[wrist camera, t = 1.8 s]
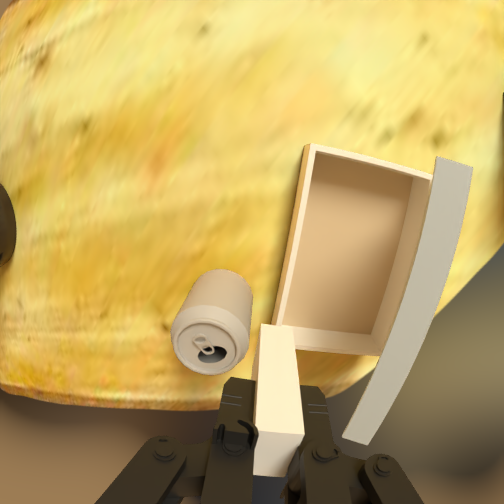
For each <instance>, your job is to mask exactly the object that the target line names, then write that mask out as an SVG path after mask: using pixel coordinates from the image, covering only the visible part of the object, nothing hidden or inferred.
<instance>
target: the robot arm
mask: <svg viewBox="0 0 504 504" xmlns="http://www.w3.org/2000/svg"><path fill="white" fill-rule="evenodd" d="M15 240H16V224H15V216H14V211H13V207H12V204H11V201H10V198H9V196H8V194H7V192H6V190H5V189H4V187H3V186H2V185H1V184H0V266H2V265H4V264H5V263H7V262H8V260H9V259H10V257H11V255H12V253H13V250H14V246H15ZM287 471H288V482H287V483H286V485H285V487H284V489H283V491H282V493H281V495H280V498H283V497H284V495H285V504H424V503H423V501H422V500H421V498H420V496H419V495H418V494H417V492H416V490H415V489H414V487H413V485H412V484H411V482H410V481H409V479H408V478H407V476H406V474H405V473H404V471H403V470H402V468H401V467H400V465H399V464H398V462H397V461H396V460H395V459H394V458H392V457H390V456H389V455H385V454H375V455H373V456H371V457H369V458H368V459H367V461H366V460H361V459H357V458H353V457H350V456H347V455H345V454H343V453H342V452H341V450H340V448H339V447H338V446H337V445H336V444H334V441H333V437H332V432H331V426H330V421H329V416H328V411H327V407H326V401H325V396H324V394H323V393H322V392H321V390H320V389H319V388H318V387H315V386H303V385H299V377H298V369H297V360H296V352H295V344H294V336H293V328H289V327H282V326H275V325H268V324H262V323H261V327H260V332H259V337H258V342H257V347H256V352H255V357H254V362H253V367H252V377H251V380H247V379H241V378H234V377H230V379H229V380H228V381H227V382H226V383H225V384H224V388H223V393H222V398H221V403H220V408H219V413H218V418H217V423H216V424H215V426H214V429H213V435H212V437H211V438H210V439H208V440H207V441H205V442H202V443H200V444H189V445H182V443H181V442H179V441H178V440H176V439H175V438H172V437H168V436H157V437H154V438H151V439H149V440H148V441H147V442H146V443H145V444H144V445H143V446H142V447H141V449H140V450H139V451H138V452H137V454H136V455H135V456H134V457H133V458H132V460H131V461H130V462H129V463H128V464H127V466H126V467H125V468H124V469H123V471H122V472H121V473H120V474H119V475H118V477H117V478H116V479H115V480H114V481H113V482H112V484H111V485H110V486H109V487H108V489H107V490H106V491H105V492H104V493H103V494H102V496H101V497H100V498H99V499H98V500H97V501H96V503H95V504H180V503H181V502H182V500H183V498H184V497H188V496H201V501H200V504H251V500H252V483H253V475H262V476H274V477H285V475H286V473H287Z"/></svg>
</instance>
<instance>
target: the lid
mask: <svg viewBox="0 0 504 504" xmlns="http://www.w3.org/2000/svg"><path fill="white" fill-rule="evenodd" d="M472 171H473V167H470V166H467V165H464V164H461V163H458V162H455V161H452V160H448V159H445V158H441V157H438V156H437V157H436V160H435V167H434V173H433V179H432V184H431V190H430V195H429V200H428V205H427V209H426V214H425V218H424V223H423V227H422V231H421V235H420V239H419V243H418V247H417V250H416V254H415V258H414V261H413V265H412V268H411V271H410V275H409V278H408V281H407V284H406V288H405V291H404V294H403V297H402V300H401V303H400V306H399V308H398V311H397V314H396V317H395V320H394V322H393V325H392V328H391V330H390V333H389V336H388V338H387V341H386V343H385V346H384V348H383V351H382V353H381V355H380V358H379V360H378V362H377V365H376V367H375V369H374V372H373V374H372V376H371V378H370V381H369V383H368V385H367V387H366V389H365V392H364V393H363V395H362V398H361V400H360V402H359V404H358V406H357V408H356V410H355V412H354V414H353V416H352V417H351V419H350V421H349V423H348V425H347V427H346V429H345V431H344V433H343V435H342V437H343V438H346V439H349V440H352V441H355V442H359V443H362V444H365V445H368V444H369V442H370V440H371V439H372V437H373V436H374V434H375V432H376V431H377V429H378V428H379V426H380V424H381V423H382V421H383V419H384V418H385V416H386V414H387V413H388V411H389V409H390V407H391V405H392V404H393V402H394V400H395V398H396V396H397V394H398V393H399V391H400V389H401V387H402V385H403V383H404V381H405V379H406V377H407V375H408V373H409V371H410V369H411V367H412V365H413V363H414V361H415V358H416V356H417V354H418V352H419V350H420V347H421V345H422V343H423V341H424V338H425V336H426V334H427V331H428V329H429V326H430V324H431V321H432V319H433V316H434V314H435V311H436V308H437V306H438V303H439V300H440V298H441V295H442V292H443V289H444V286H445V283H446V280H447V277H448V274H449V271H450V267H451V264H452V261H453V257H454V254H455V250H456V246H457V243H458V239H459V235H460V231H461V227H462V223H463V218H464V214H465V209H466V205H467V200H468V194H469V189H470V183H471V177H472Z"/></svg>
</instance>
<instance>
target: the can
mask: <svg viewBox="0 0 504 504" xmlns="http://www.w3.org/2000/svg"><path fill="white" fill-rule="evenodd" d="M252 304H253V294H252V291H251V288H250V286H249V285H248V283H247V282H246V280H245V279H244V278H242V277H241V276H240V275H239V274H237V273H235V272H232V271H230V270H225V269H215V270H211V271H208V272H206V273H204V274H203V275H201V276H200V277H199V278H198V279H197V281H196V282H195V283H194V285H193V287H192V289H191V290H190V292H189V294H188V296H187V298H186V299H185V301H184V303H183V305H182V307H181V308H180V310H179V312H178V314H177V316H176V317H175V319H174V321H173V324H172V328H171V331H170V332H171V342H172V344H173V349H174V352H175V354H176V356H177V358H178V359H179V360H180V361H181V362H182V364H183V365H184V366H186V367H187V368H189V369H190V370H192V371H194V372H197V373H200V374H204V375H218V374H223V373H225V372H227V371H230V370H231V369H232V368H233V367H234V366H235V365H237V364H238V363H239V362H240V361H241V360H242V359H243V358H244V357H245V355H246V352H247V350H248V346H249V336H250V325H251V315H252Z"/></svg>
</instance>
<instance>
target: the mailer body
mask: <svg viewBox="0 0 504 504" xmlns="http://www.w3.org/2000/svg"><path fill="white" fill-rule="evenodd" d="M432 179H433V175H431V174H428V173H425V172H422V171H419V170H416V169H412V168H409V167H406V166H402V165H399V164H395V163H392V162H388V161H385V160H381V159H377V158H373V157H370V156H366V155H362V154H358V153H353V152H349V151H345V150H341V149H336V148H332V147H327V146H322V145H317V144H312V143H310V144H307V145H305V146H304V150H303V156H302V162H301V168H300V174H299V180H298V185H297V191H296V197H295V203H294V208H293V214H292V219H291V225H290V230H289V235H288V241H287V246H286V251H285V257H284V262H283V267H282V272H281V277H280V282H279V287H278V292H277V297H276V302H275V307H274V312H273V316H272V321H271V325H275V326H282V327H289V328H293V336H294V344H295V349H300V350H309V351H319V352H329V353H341V354H354V355H368V356H380V355H381V353H382V351H383V348H384V346H385V343H386V341H387V338H388V336H389V333H390V330H391V328H392V325H393V322H394V320H395V317H396V314H397V311H398V308H399V306H400V303H401V300H402V297H403V294H404V291H405V288H406V284H407V281H408V278H409V275H410V271H411V268H412V265H413V261H414V258H415V254H416V250H417V247H418V243H419V239H420V235H421V231H422V227H423V223H424V218H425V214H426V209H427V205H428V200H429V195H430V190H431V184H432Z"/></svg>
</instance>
